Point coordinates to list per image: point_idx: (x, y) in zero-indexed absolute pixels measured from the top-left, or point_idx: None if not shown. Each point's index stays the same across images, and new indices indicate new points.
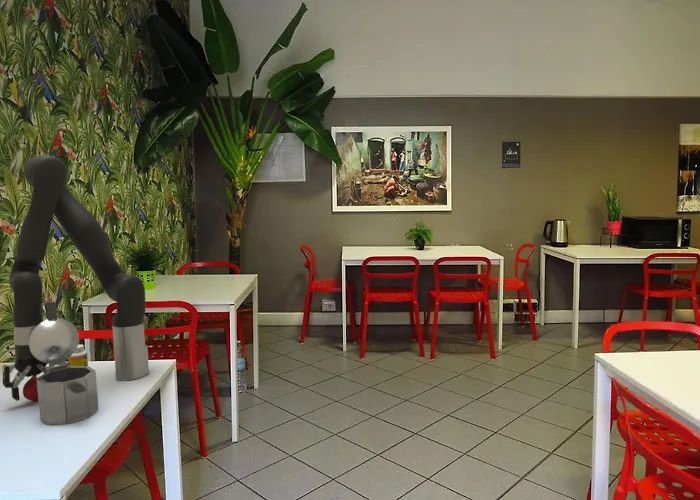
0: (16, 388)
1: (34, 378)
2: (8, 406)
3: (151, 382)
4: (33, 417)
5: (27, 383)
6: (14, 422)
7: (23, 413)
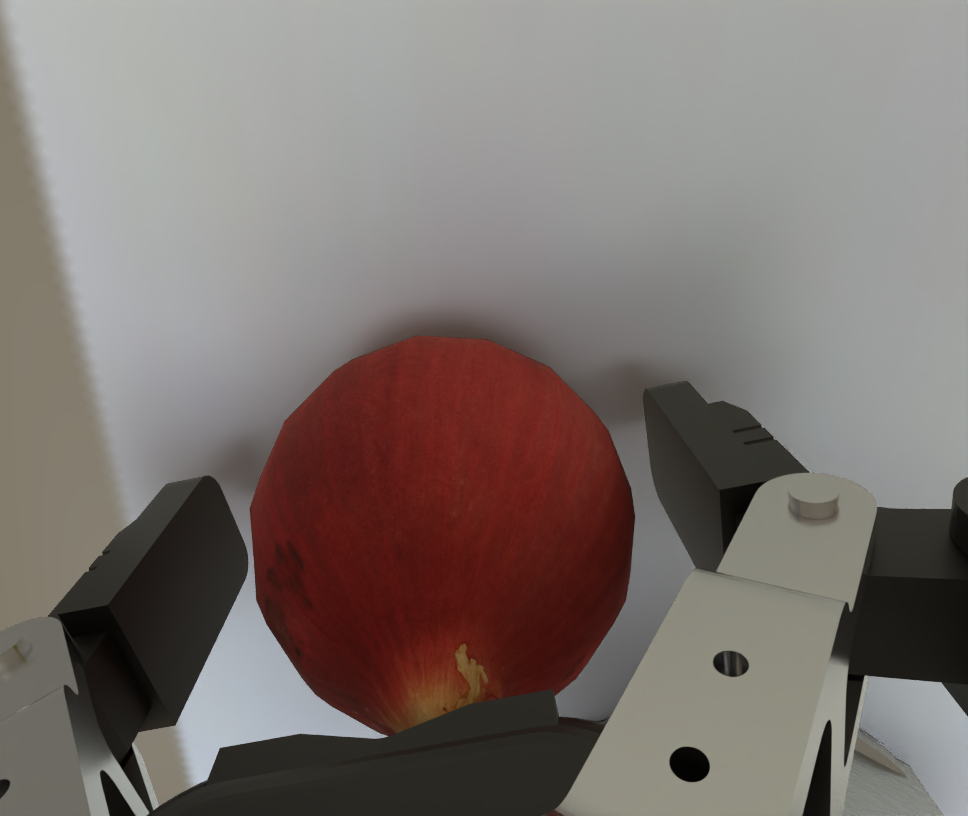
0: (140, 729)
1: None
2: (127, 374)
3: None
4: None
5: (315, 692)
6: None
7: None
